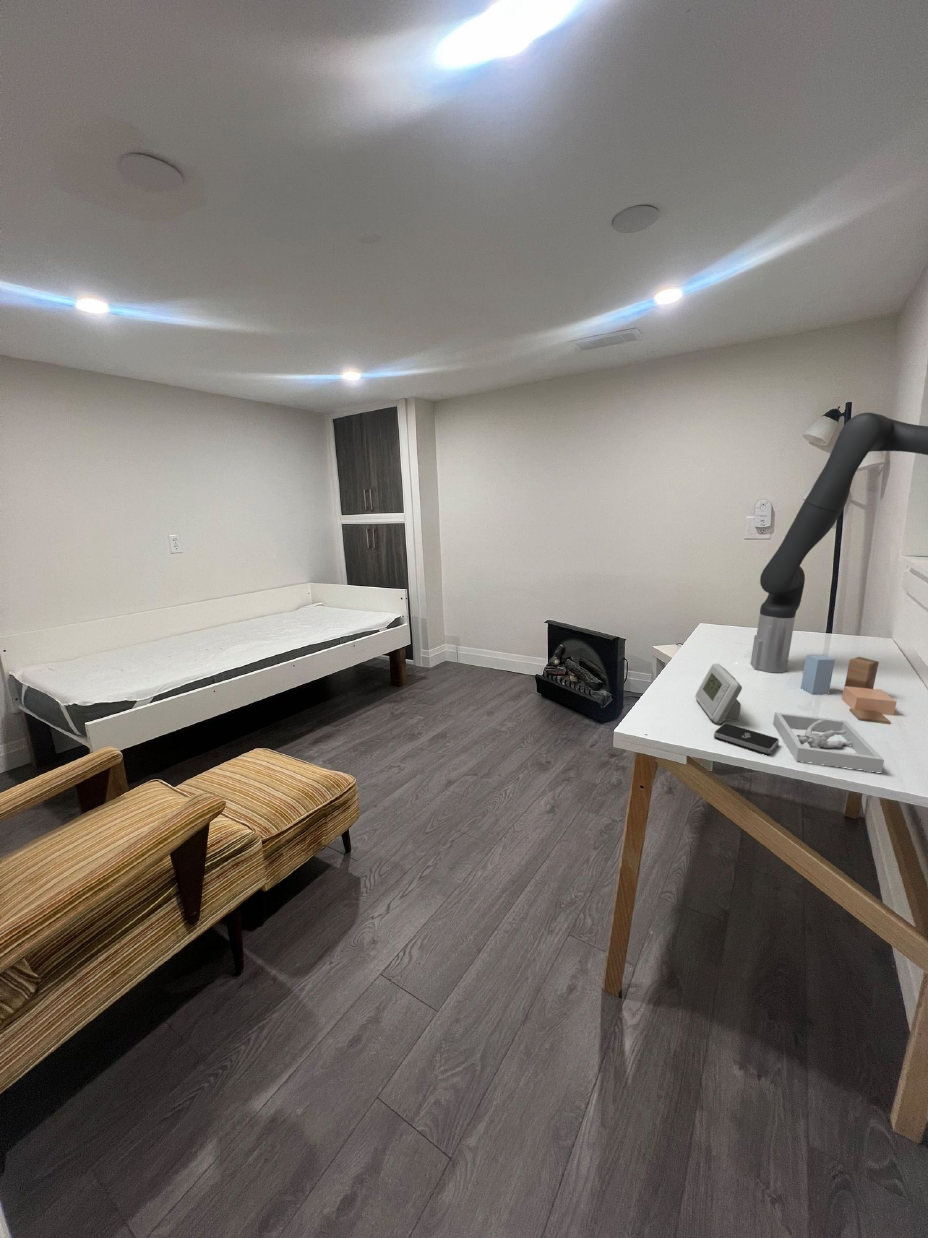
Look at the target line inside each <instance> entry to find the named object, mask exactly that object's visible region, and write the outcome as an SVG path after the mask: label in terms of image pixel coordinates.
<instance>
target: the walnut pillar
mask: <svg viewBox="0 0 928 1238" xmlns="http://www.w3.org/2000/svg"><path fill="white" fill-rule="evenodd" d="M848 661H849V663H848V667H847V674H846V678H845V681H844V682H845V683H844V686H848V687H858V688H868V689H874V687H875V682H876V678H877V677H876V676H877V672H878V668H879V663H880V662H879V660H878V661H877V660H874V659H870V658H865V657H861V656H857V657H852V658H850V659H849V660H848Z"/></svg>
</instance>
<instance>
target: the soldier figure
mask: <svg viewBox="0 0 928 1238" xmlns="http://www.w3.org/2000/svg"><path fill="white" fill-rule="evenodd" d="M823 721H825V720H818V721H817V722H815V723H813V724H812V725H811V726H809V727H808V729H807V730H805V732H804V735H800V734H795V736H796V737H797V739H798V740H799V742H800V743H801V745H802V746H803V745H804V744H806V743H807V744H808V746H809V747H810V748H818V749H827V748H831V749H832V748H842V746H850V745H851V744H852V742H851V741H839V740H835V741H834V740H833V741H831V740H829V739H830V738H831V737H834V736H835V735H837V736H842V735H841V734H845V733H846V730H841V731H833V730H831V731H827V732H823V733H822V734H820V733H816V732H813V731H812V730H814V729H815V727H816V726H817V725H818V724H823V723H821V722H823ZM820 747H821V748H820Z"/></svg>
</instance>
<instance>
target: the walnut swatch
mask: <svg viewBox="0 0 928 1238" xmlns="http://www.w3.org/2000/svg"><path fill="white" fill-rule="evenodd" d="M849 712H850V713H851V714H852V715H853V716H854V717H855V718H856V719H858V721H860V720H861V722H862V721H863V722H870V723H877V724H878V723H880V724H885V725H891V720H889V719H888V718H887V717H886V716H885V715H884V714H881V713H880V712H878V711H869V710H860V709H852V708H850V707H849Z"/></svg>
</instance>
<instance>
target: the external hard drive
mask: <svg viewBox="0 0 928 1238" xmlns="http://www.w3.org/2000/svg"><path fill="white" fill-rule="evenodd" d="M713 739H714V740H716V741H720V742H722V743H725V744H729V745H731V746H735V747H739V748H741V749H744V750H747V749H748V751H751V752H754V753H757V754H760V755H762V754H764V755H763V756H765V755H767V756H766V757H770V756H771V754H772V753H773V752H774V751H775V750H776V749H777V747H778V746H779V742H780V739H779V738H778V737H774V736H771V735H768V734H765V733H760V732H758V731H755V730H751V729H747V728H745V727H741V726H738V725H734V724H731V723H728V722H725V723H723V724H722V725H721V726H719V727H718V728H717V729H716V730H715V731H714V734H713Z"/></svg>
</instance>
